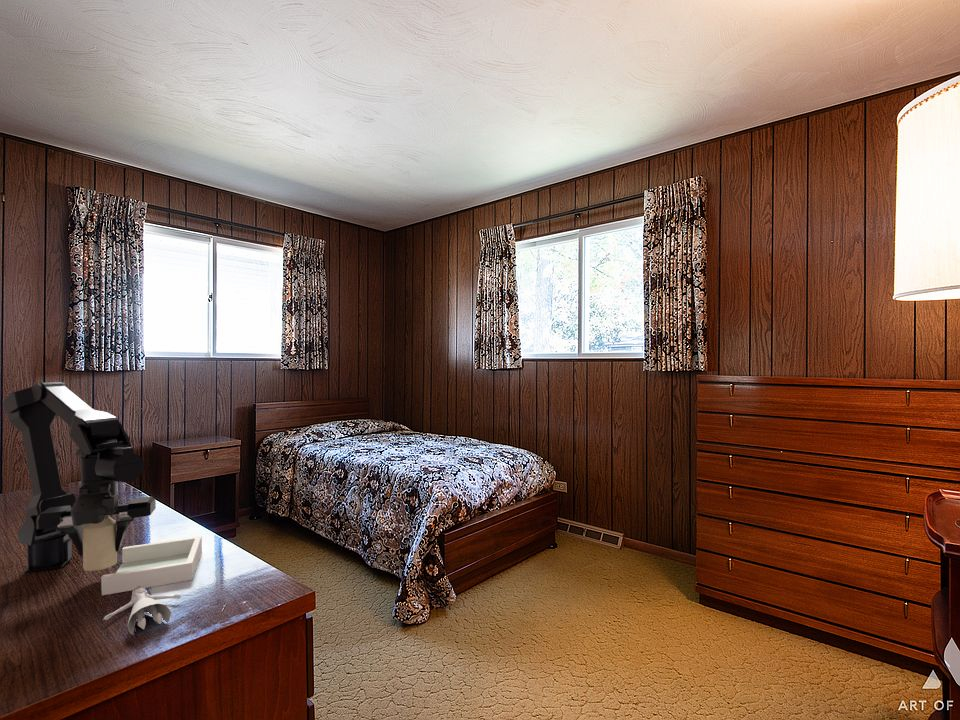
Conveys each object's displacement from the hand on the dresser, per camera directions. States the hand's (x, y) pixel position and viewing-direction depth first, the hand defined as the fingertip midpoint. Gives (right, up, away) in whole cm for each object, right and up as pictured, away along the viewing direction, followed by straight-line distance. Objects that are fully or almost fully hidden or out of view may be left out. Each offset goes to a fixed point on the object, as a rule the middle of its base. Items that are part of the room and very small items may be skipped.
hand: (100, 553), depth 101 cm
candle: (0, -3, 0) cm, 3 cm away
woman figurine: (+19, -6, -14) cm, 24 cm away
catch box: (+8, -5, +4) cm, 11 cm away
